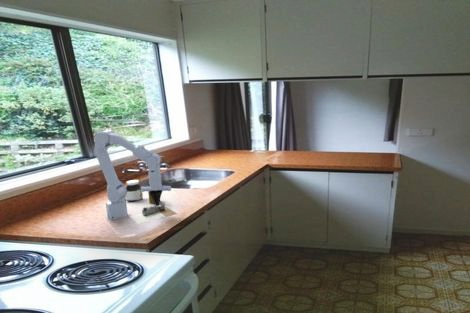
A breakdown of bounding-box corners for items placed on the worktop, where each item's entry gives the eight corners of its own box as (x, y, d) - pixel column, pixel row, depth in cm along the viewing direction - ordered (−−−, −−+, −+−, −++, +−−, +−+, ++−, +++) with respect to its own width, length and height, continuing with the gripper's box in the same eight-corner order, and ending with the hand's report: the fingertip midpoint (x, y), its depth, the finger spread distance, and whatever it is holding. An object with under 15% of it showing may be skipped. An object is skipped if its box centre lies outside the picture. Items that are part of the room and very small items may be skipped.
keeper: (145, 213, 163) (145, 208, 162) (144, 212, 164) (144, 207, 164) (153, 211, 165) (153, 206, 164) (152, 210, 166) (151, 206, 166)
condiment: (150, 202, 183) (147, 182, 181) (165, 201, 184) (163, 181, 182) (147, 206, 176) (145, 185, 174) (163, 205, 177) (161, 184, 175)
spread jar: (136, 203, 182) (134, 183, 180) (118, 203, 185) (116, 183, 183) (146, 196, 194) (144, 178, 192) (129, 196, 196) (127, 178, 194)
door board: (138, 226, 149) (137, 224, 149) (129, 218, 160) (129, 216, 160) (177, 215, 160) (177, 213, 160) (167, 208, 171) (166, 206, 171)
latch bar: (163, 208, 168) (162, 202, 168) (166, 209, 166) (165, 203, 165) (142, 214, 161) (141, 207, 160) (145, 215, 159) (144, 209, 158)
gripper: (171, 175, 161) (173, 201, 163) (143, 176, 161) (145, 202, 164) (168, 179, 154) (170, 206, 156) (138, 180, 154) (141, 207, 157)
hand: (157, 204), depth 160 cm, fingers closed
